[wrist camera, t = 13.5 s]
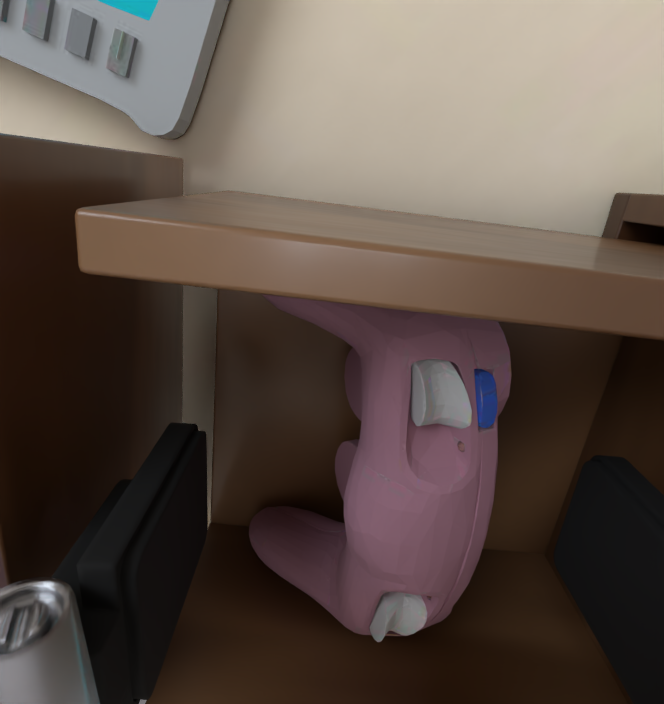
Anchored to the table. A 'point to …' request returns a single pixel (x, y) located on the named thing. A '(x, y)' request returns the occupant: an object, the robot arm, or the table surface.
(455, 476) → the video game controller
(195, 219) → the drawer
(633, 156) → the table surface
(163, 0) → the office telephone
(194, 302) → the table surface
